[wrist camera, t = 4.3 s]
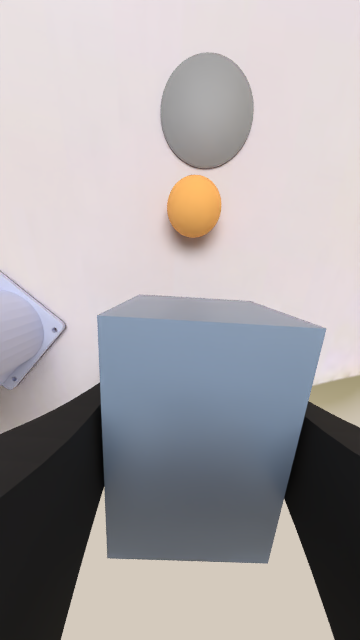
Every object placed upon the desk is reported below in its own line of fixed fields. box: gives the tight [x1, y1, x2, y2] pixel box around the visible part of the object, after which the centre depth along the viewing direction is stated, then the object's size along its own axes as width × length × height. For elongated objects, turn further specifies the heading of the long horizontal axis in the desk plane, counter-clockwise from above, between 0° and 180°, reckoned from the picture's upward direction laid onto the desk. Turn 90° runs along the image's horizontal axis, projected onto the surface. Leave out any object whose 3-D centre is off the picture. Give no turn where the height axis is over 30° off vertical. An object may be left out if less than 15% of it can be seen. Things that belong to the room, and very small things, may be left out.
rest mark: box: [161, 53, 253, 168], centre depth 14 cm, size 7×7×1 cm
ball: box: [167, 175, 221, 238], centre depth 14 cm, size 4×4×4 cm
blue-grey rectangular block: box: [97, 295, 326, 563], centre depth 8 cm, size 9×6×5 cm, turn 177°
